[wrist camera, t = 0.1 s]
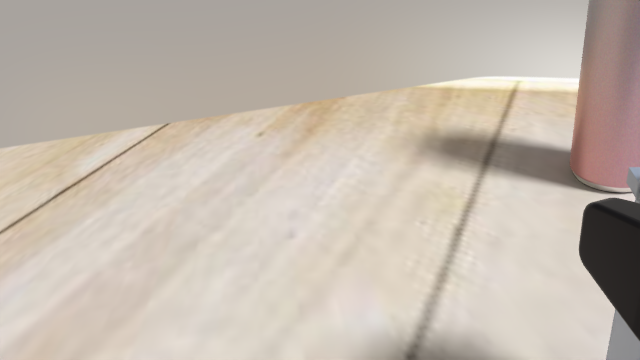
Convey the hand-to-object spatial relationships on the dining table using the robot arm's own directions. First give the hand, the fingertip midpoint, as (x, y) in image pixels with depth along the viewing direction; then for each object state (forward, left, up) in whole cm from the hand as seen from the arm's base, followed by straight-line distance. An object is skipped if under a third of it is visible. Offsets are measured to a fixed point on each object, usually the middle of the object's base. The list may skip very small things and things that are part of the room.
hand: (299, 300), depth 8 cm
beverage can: (+25, -28, -17) cm, 41 cm away
